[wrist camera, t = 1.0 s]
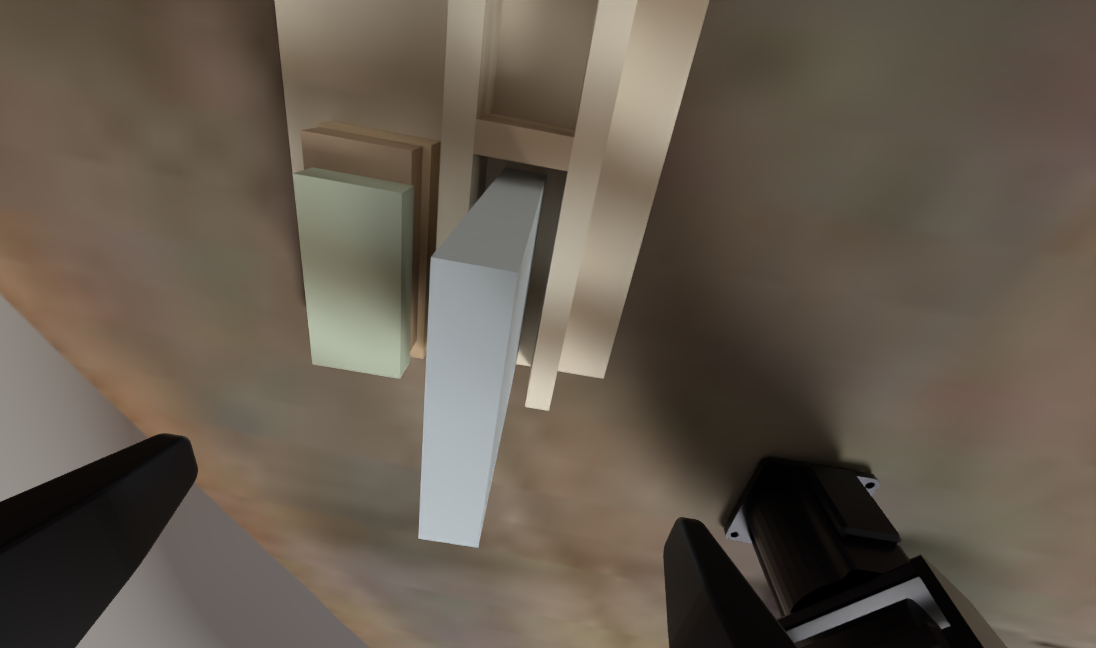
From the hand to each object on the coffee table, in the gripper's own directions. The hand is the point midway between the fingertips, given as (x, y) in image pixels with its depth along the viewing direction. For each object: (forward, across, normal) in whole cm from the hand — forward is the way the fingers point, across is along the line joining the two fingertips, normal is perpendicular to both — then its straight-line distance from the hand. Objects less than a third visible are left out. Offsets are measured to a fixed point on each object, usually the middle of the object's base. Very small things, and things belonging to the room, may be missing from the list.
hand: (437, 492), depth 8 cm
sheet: (+12, 0, 0) cm, 12 cm away
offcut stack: (+12, +5, 0) cm, 13 cm away
